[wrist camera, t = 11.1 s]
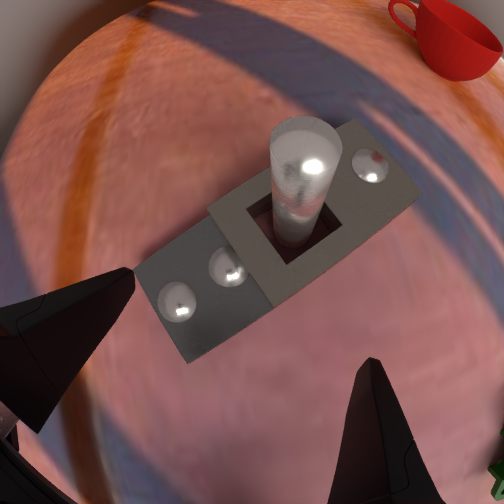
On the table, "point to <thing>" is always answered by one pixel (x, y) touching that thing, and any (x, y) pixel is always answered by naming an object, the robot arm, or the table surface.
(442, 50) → the ceramic cup
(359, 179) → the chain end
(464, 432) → the table surface
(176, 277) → the plate
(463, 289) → the table surface
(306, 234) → the steel pin
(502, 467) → the clamp
